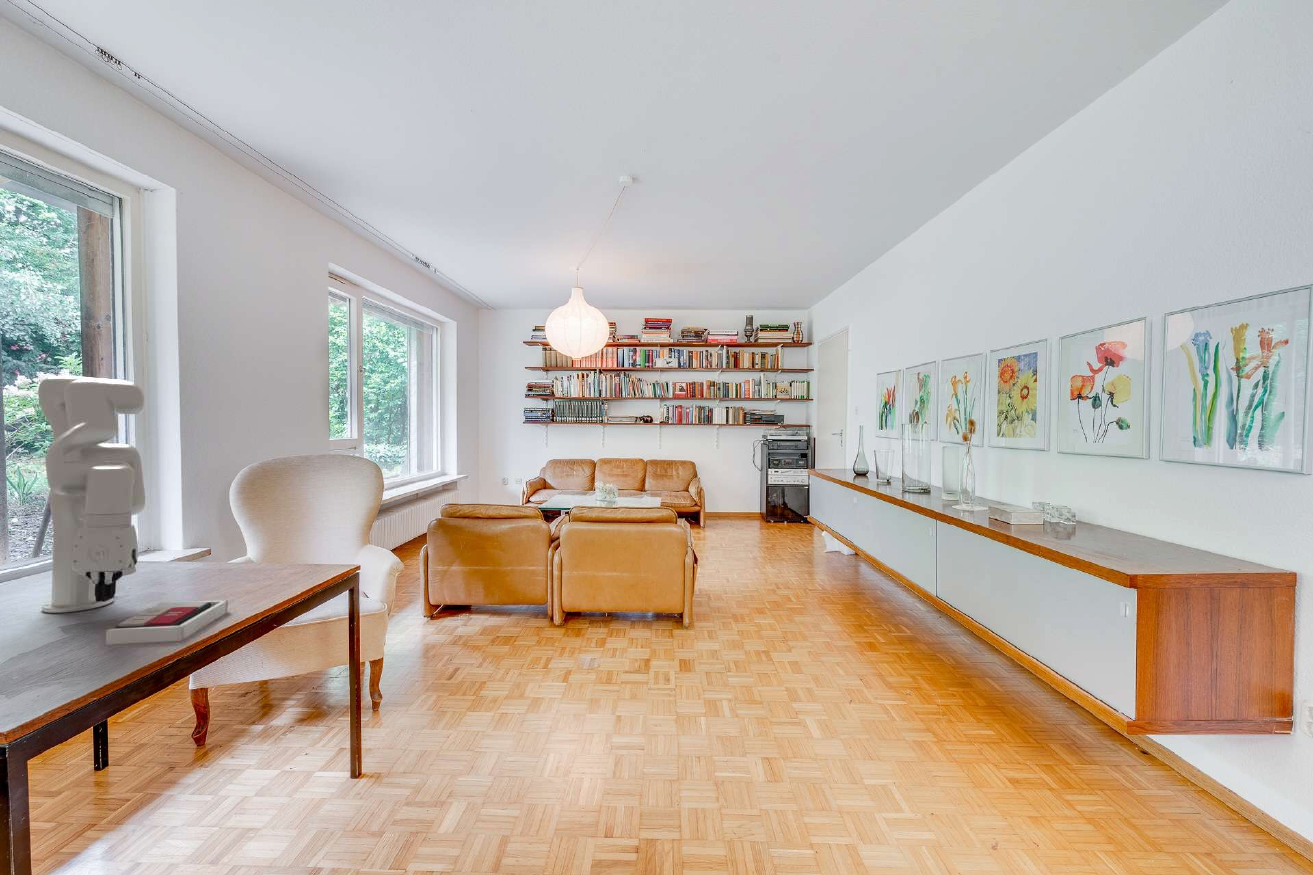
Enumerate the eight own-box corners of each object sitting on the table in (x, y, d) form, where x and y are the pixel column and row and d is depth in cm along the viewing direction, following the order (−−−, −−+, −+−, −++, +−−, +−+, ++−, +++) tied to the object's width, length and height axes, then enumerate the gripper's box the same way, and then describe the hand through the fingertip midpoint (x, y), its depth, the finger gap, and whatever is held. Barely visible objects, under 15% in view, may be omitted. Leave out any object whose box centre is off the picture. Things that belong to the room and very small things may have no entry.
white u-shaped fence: (164, 614, 136) (164, 602, 136) (227, 611, 140) (227, 600, 140) (105, 644, 117) (106, 630, 117) (181, 640, 120) (181, 626, 120)
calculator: (113, 624, 120) (160, 600, 135) (113, 643, 120) (160, 617, 135) (171, 622, 122) (211, 598, 137) (171, 641, 122) (211, 615, 137)
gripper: (54, 522, 120) (50, 605, 120) (137, 524, 123) (133, 605, 124) (80, 515, 127) (77, 594, 127) (158, 517, 131) (154, 594, 131)
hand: (104, 599), depth 126 cm, fingers closed
